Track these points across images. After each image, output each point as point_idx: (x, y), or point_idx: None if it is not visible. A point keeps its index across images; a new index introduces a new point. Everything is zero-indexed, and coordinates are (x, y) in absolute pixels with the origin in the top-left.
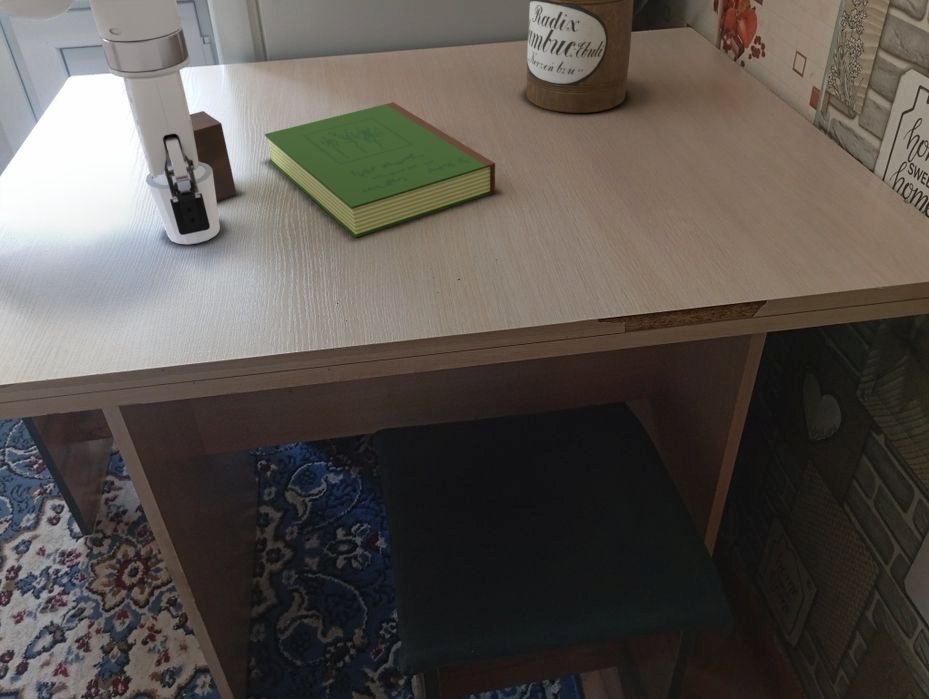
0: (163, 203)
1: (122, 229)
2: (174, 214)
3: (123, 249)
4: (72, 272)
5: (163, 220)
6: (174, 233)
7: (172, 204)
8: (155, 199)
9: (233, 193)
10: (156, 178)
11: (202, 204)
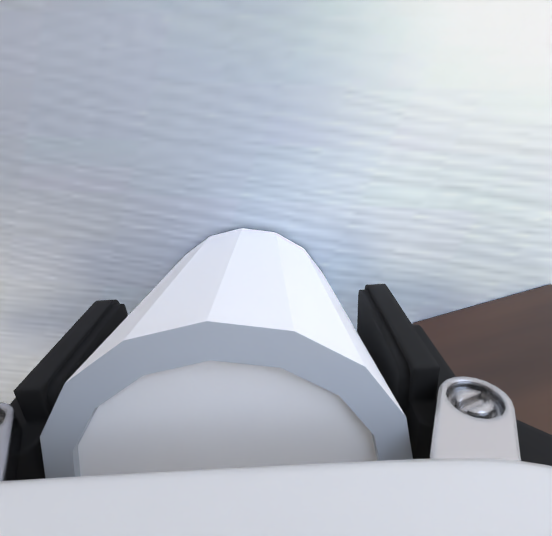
0: (116, 328)
1: (382, 62)
2: (56, 346)
3: (213, 62)
4: None
5: (191, 259)
6: (174, 267)
7: (26, 382)
8: (154, 300)
9: None
10: (225, 378)
11: None
